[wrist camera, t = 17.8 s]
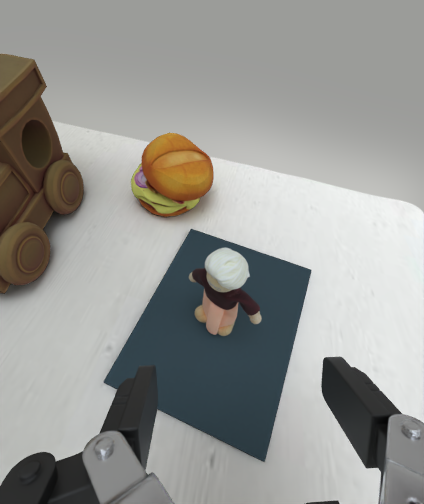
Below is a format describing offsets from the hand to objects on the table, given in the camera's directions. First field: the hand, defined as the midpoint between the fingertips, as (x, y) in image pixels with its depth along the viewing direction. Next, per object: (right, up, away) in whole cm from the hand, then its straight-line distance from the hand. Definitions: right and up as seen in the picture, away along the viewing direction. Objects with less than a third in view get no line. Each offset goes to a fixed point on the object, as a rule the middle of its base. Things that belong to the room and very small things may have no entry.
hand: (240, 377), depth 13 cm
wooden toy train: (-26, +9, +24) cm, 36 cm away
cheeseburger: (-7, +14, +27) cm, 32 cm away
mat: (-1, -2, +17) cm, 17 cm away
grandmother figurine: (-1, -2, +17) cm, 17 cm away
